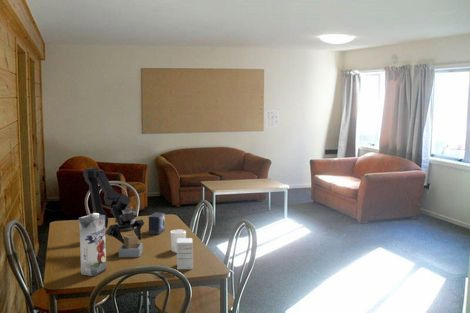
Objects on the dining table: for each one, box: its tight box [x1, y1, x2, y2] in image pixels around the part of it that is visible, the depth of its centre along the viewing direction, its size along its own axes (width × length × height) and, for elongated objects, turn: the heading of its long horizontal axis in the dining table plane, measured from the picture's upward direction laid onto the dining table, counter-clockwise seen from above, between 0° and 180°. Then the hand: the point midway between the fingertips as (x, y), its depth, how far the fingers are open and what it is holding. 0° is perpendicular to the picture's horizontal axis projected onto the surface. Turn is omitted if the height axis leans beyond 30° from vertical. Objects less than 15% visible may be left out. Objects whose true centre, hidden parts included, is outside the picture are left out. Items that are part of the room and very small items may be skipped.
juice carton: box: [78, 212, 107, 277], centre depth 221 cm, size 9×10×27 cm
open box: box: [118, 242, 144, 258], centre depth 249 cm, size 10×10×4 cm
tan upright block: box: [123, 233, 139, 249], centre depth 249 cm, size 5×5×9 cm
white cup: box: [169, 228, 187, 253], centre depth 254 cm, size 8×8×10 cm
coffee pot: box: [102, 204, 137, 231], centre depth 293 cm, size 21×12×15 cm, turn 105°
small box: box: [148, 211, 166, 236], centre depth 287 cm, size 11×6×10 cm, turn 168°
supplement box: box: [176, 237, 194, 270], centre depth 230 cm, size 7×7×13 cm
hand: (132, 241), depth 247 cm, fingers open, 9 cm apart
